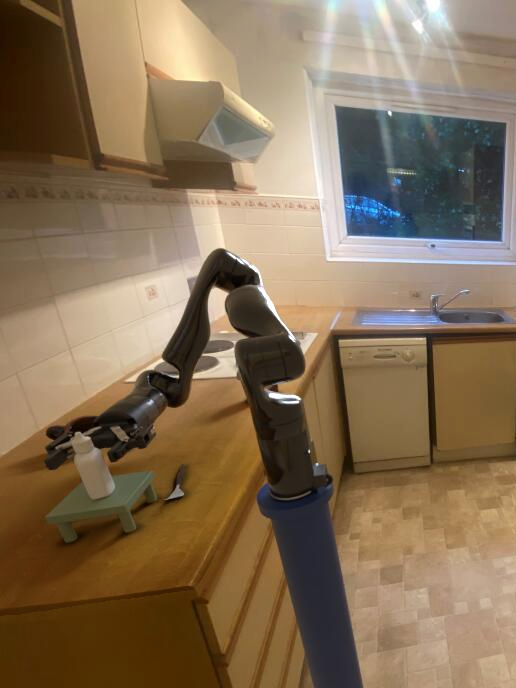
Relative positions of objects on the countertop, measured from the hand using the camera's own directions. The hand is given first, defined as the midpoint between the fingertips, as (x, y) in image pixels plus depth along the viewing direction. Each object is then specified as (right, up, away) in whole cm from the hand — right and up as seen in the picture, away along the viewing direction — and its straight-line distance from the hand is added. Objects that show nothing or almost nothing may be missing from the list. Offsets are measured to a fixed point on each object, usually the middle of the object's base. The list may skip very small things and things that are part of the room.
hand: (80, 461), depth 73 cm
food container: (-4, +9, +57) cm, 58 cm away
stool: (-1, -12, +7) cm, 14 cm away
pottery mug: (-29, -2, +31) cm, 43 cm away
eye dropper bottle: (-1, -6, +5) cm, 8 cm away
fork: (+4, -8, +17) cm, 19 cm away
